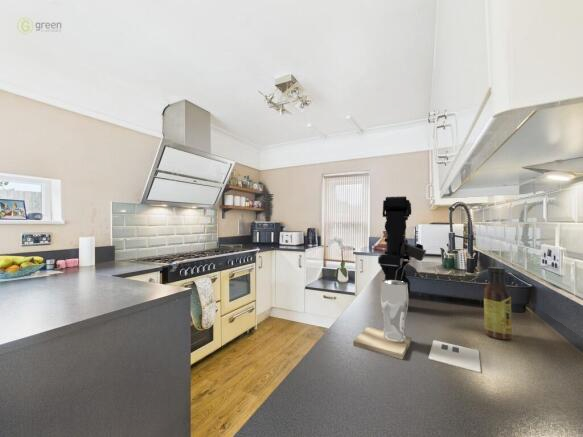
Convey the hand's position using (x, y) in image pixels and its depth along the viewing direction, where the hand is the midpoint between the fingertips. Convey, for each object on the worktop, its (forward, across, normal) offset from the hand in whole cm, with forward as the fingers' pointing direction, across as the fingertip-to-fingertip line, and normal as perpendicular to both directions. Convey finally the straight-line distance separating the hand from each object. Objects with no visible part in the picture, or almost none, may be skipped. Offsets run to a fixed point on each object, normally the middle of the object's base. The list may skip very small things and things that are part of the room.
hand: (395, 284), depth 81 cm
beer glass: (+12, -13, -2) cm, 18 cm away
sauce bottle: (+13, +10, -26) cm, 31 cm away
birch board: (+13, -15, 0) cm, 20 cm away
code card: (+13, -11, -16) cm, 23 cm away
